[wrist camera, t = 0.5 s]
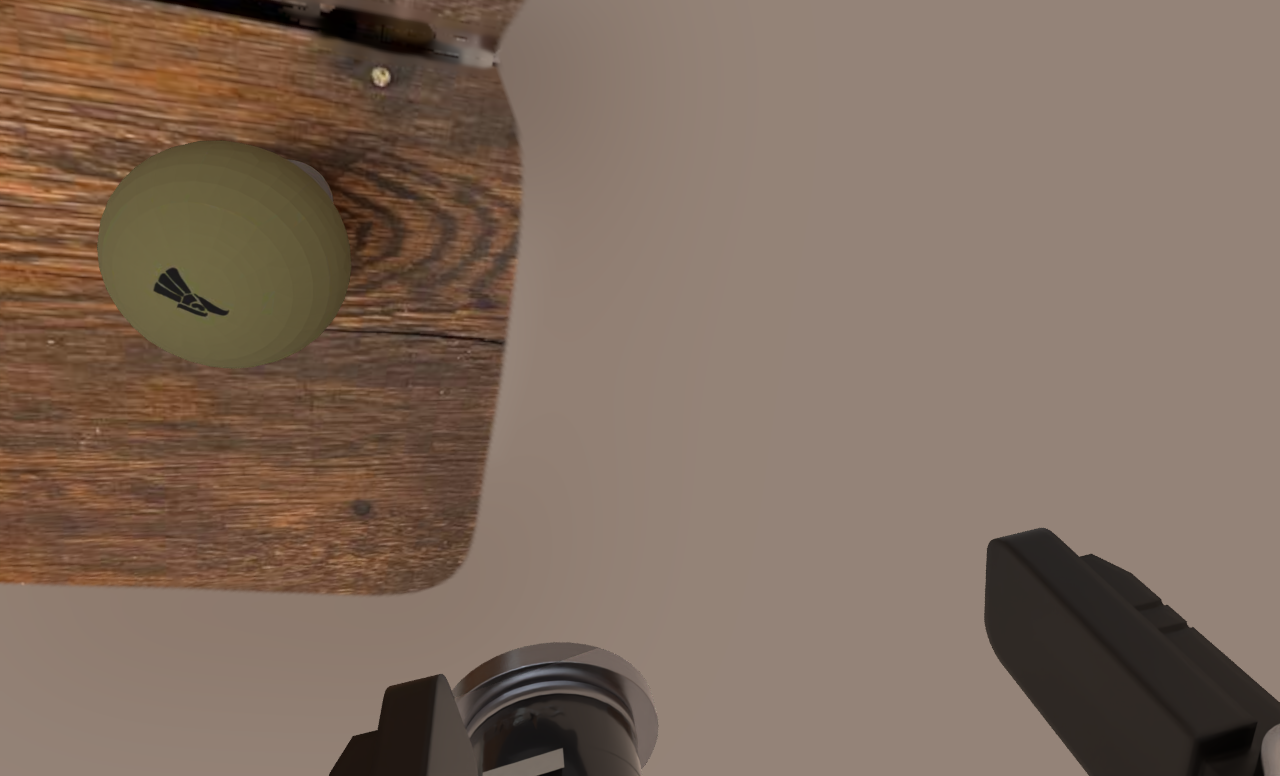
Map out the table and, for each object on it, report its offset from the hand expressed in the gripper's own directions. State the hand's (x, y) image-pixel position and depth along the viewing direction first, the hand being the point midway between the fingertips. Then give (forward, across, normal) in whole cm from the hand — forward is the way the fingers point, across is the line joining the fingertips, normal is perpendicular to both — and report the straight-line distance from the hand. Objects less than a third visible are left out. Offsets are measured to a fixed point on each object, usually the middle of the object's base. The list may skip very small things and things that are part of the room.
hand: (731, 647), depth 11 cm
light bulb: (+20, -9, +5) cm, 22 cm away
